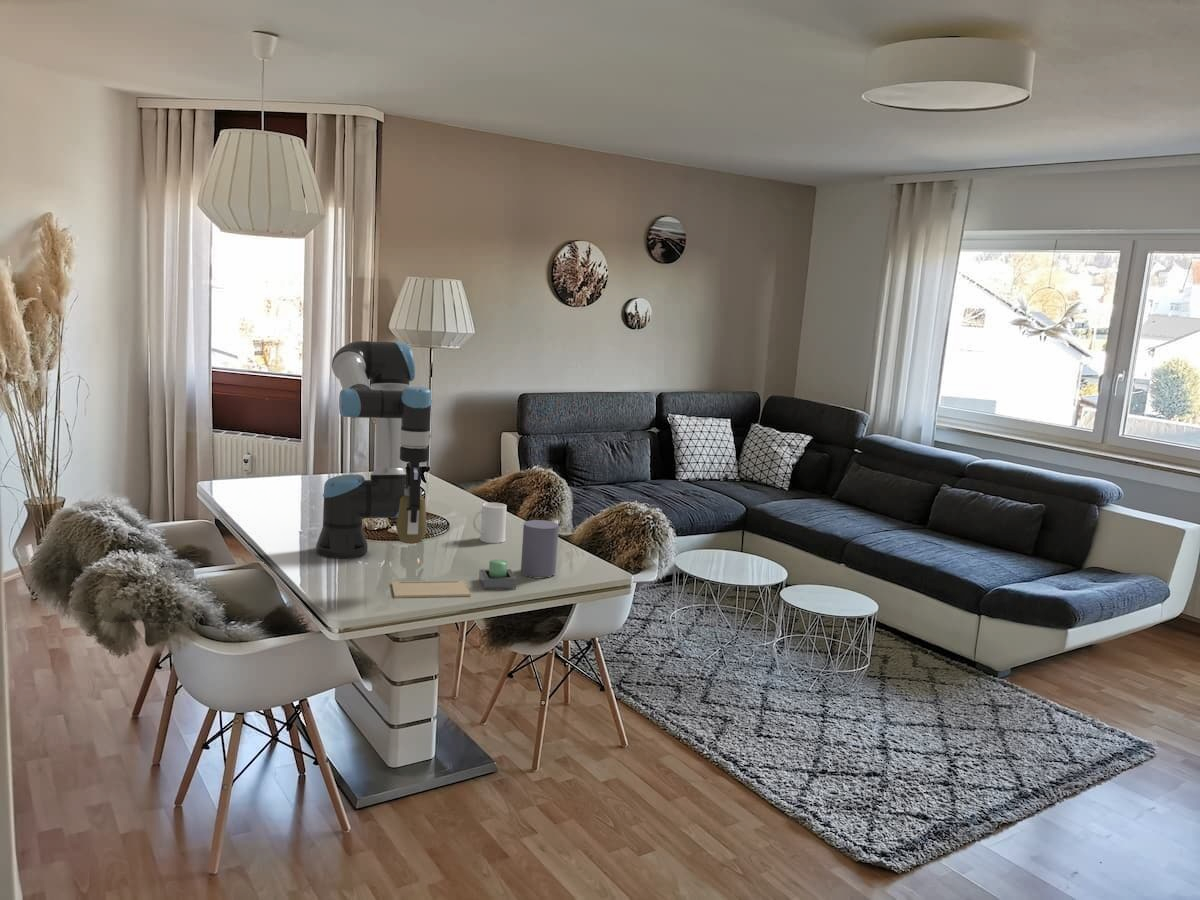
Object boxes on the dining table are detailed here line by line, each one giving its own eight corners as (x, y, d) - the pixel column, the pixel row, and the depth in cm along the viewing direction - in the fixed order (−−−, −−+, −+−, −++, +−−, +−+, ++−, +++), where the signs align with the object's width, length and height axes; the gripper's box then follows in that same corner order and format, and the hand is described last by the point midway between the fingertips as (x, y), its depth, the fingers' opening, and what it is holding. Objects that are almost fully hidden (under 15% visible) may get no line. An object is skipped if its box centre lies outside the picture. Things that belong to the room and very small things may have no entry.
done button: (490, 582, 254) (491, 564, 253) (487, 576, 258) (488, 559, 257) (507, 581, 255) (508, 564, 254) (504, 576, 260) (505, 559, 259)
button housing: (483, 589, 251) (484, 579, 251) (478, 579, 260) (479, 569, 259) (515, 589, 254) (516, 578, 253) (509, 579, 262) (510, 569, 262)
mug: (476, 545, 296) (478, 509, 294) (466, 538, 303) (468, 503, 301) (509, 542, 302) (511, 507, 300) (498, 536, 309) (500, 501, 308)
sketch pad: (394, 597, 239) (394, 595, 239) (391, 583, 250) (391, 581, 250) (470, 596, 245) (470, 594, 245) (464, 582, 256) (464, 580, 256)
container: (520, 567, 275) (523, 519, 273) (555, 569, 276) (558, 521, 273) (520, 577, 265) (523, 527, 262) (555, 579, 266) (559, 529, 263)
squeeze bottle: (397, 536, 247) (400, 472, 245) (427, 538, 248) (430, 473, 245) (393, 544, 240) (396, 477, 237) (424, 546, 240) (427, 479, 238)
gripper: (433, 453, 231) (429, 539, 235) (425, 440, 251) (421, 520, 254) (403, 452, 229) (399, 540, 232) (397, 439, 249) (394, 520, 252)
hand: (411, 529), depth 243 cm, fingers closed on squeeze bottle, 8 cm apart
